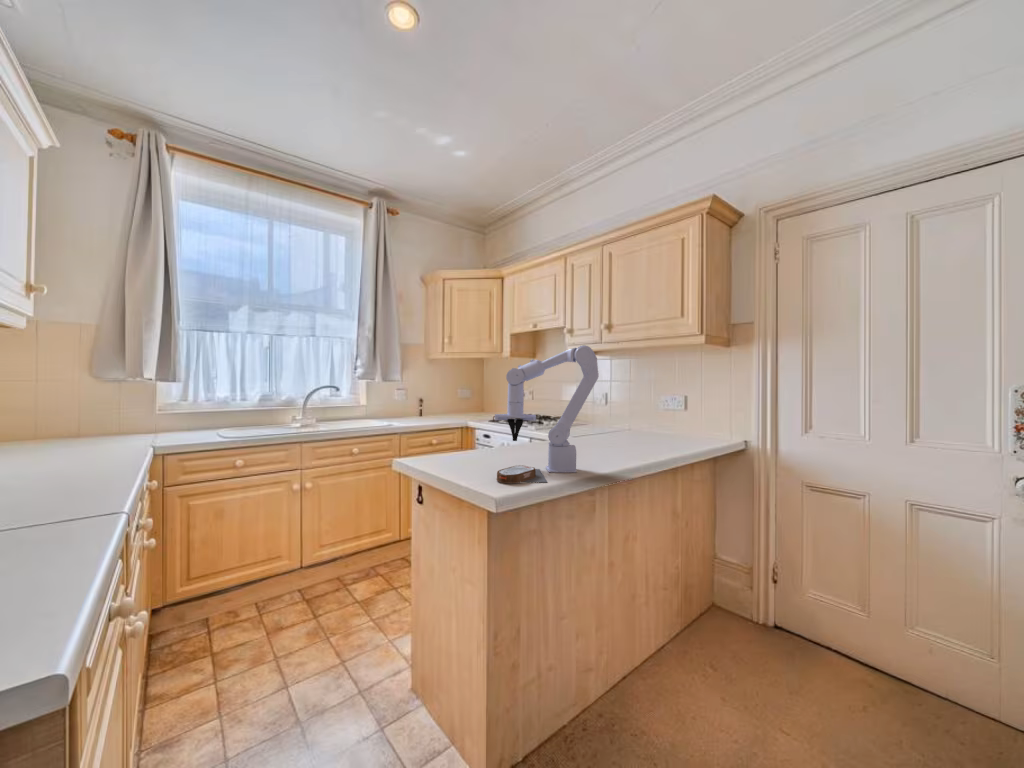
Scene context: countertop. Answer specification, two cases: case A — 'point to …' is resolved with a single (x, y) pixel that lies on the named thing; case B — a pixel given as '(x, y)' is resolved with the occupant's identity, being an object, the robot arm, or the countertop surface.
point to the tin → (516, 474)
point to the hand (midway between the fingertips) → (514, 440)
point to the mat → (537, 477)
